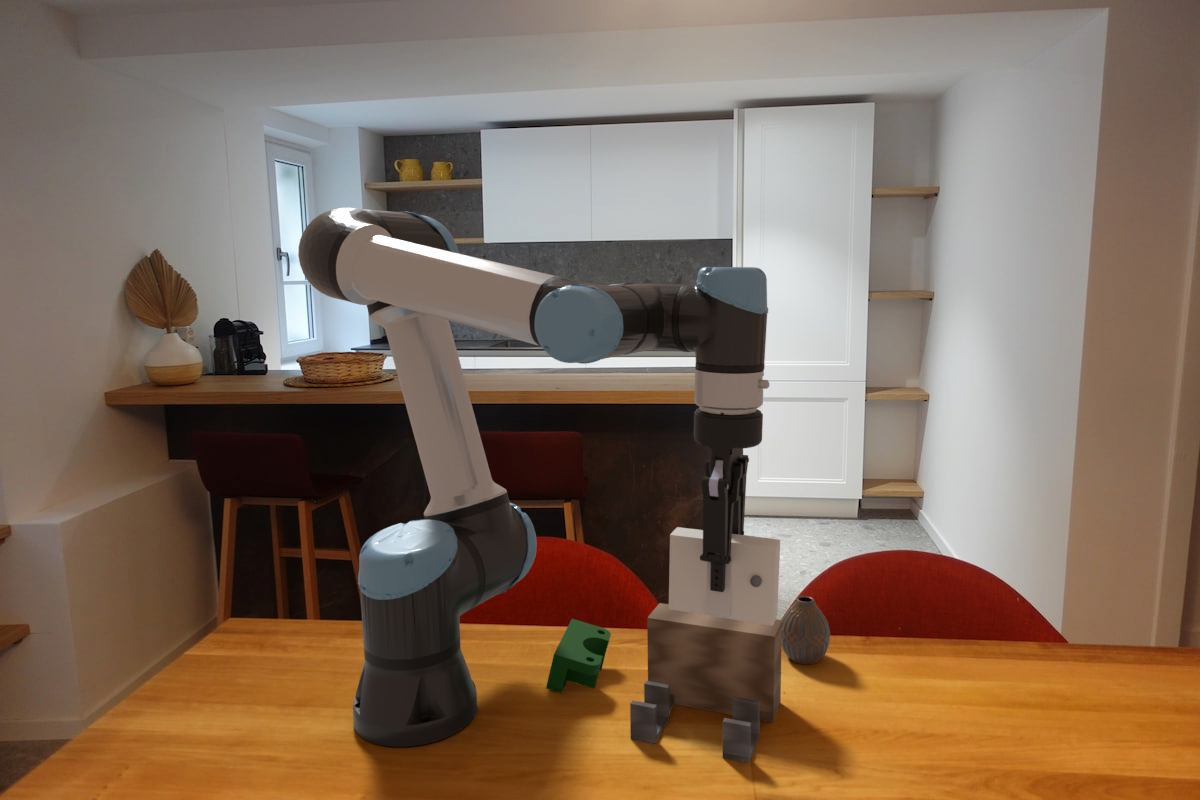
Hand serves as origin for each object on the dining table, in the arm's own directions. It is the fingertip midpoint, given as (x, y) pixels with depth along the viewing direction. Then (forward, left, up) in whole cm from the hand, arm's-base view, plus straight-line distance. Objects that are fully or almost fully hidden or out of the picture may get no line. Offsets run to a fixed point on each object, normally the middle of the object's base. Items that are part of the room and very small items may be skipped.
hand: (722, 608), depth 93 cm
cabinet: (-3, +3, -16) cm, 16 cm away
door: (0, 0, 0) cm, 0 cm away
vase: (+6, +23, -16) cm, 29 cm away
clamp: (-21, +7, -16) cm, 28 cm away
